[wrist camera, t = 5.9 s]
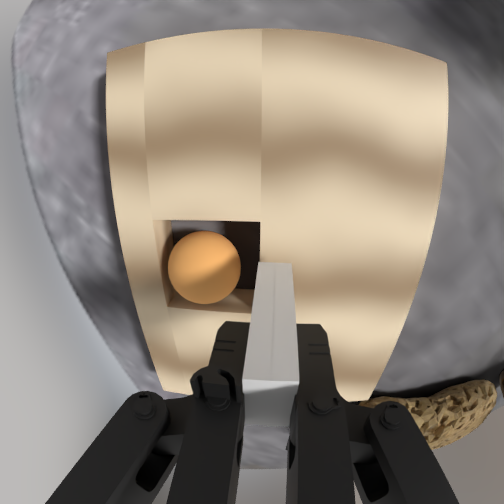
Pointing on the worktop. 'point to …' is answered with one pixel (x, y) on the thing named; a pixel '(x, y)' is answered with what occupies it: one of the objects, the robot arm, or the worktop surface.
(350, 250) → the board
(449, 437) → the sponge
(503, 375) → the ceramic cup
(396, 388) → the worktop surface
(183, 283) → the ball
